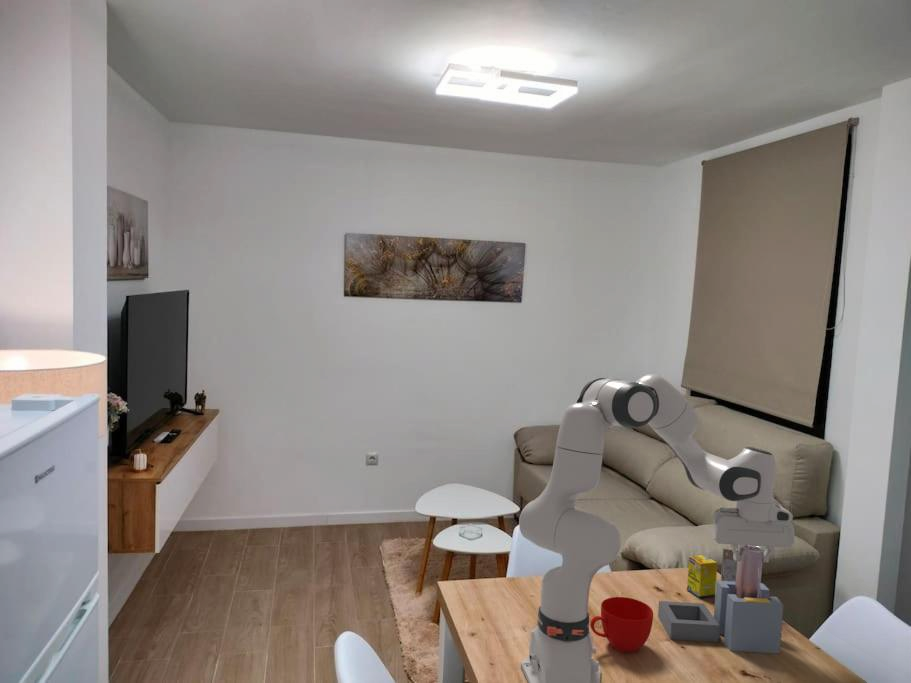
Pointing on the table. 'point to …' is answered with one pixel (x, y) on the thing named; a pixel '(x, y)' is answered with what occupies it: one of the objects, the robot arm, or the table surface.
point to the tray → (688, 621)
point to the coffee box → (728, 566)
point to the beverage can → (749, 572)
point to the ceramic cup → (624, 623)
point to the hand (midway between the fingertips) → (750, 560)
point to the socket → (748, 619)
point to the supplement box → (702, 576)
